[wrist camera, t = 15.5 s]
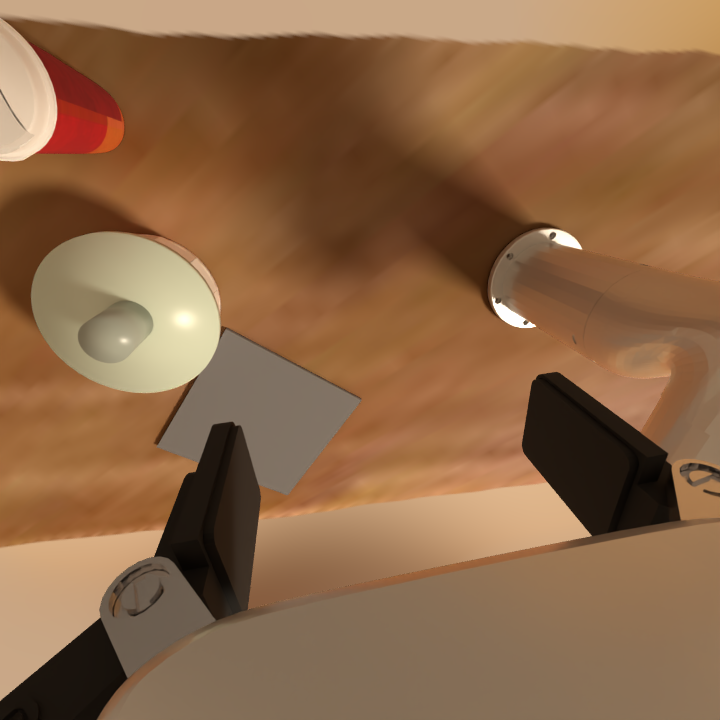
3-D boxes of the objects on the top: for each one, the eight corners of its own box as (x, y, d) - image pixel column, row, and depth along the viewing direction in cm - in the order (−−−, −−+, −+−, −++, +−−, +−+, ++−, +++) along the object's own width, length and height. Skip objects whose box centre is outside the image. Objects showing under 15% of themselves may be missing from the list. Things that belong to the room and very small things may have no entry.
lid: (249, 292, 36) (240, 312, 30) (181, 410, 40) (163, 445, 35) (71, 191, 30) (22, 194, 25) (15, 342, 35) (-36, 372, 29)
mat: (361, 398, 50) (361, 400, 50) (287, 492, 56) (287, 495, 56) (226, 327, 43) (225, 329, 43) (158, 444, 49) (156, 447, 48)
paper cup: (30, 56, 30) (-156, -30, 18) (131, 73, 32) (23, 5, 19) (53, 161, 34) (-90, 150, 21) (143, 172, 35) (58, 168, 23)
